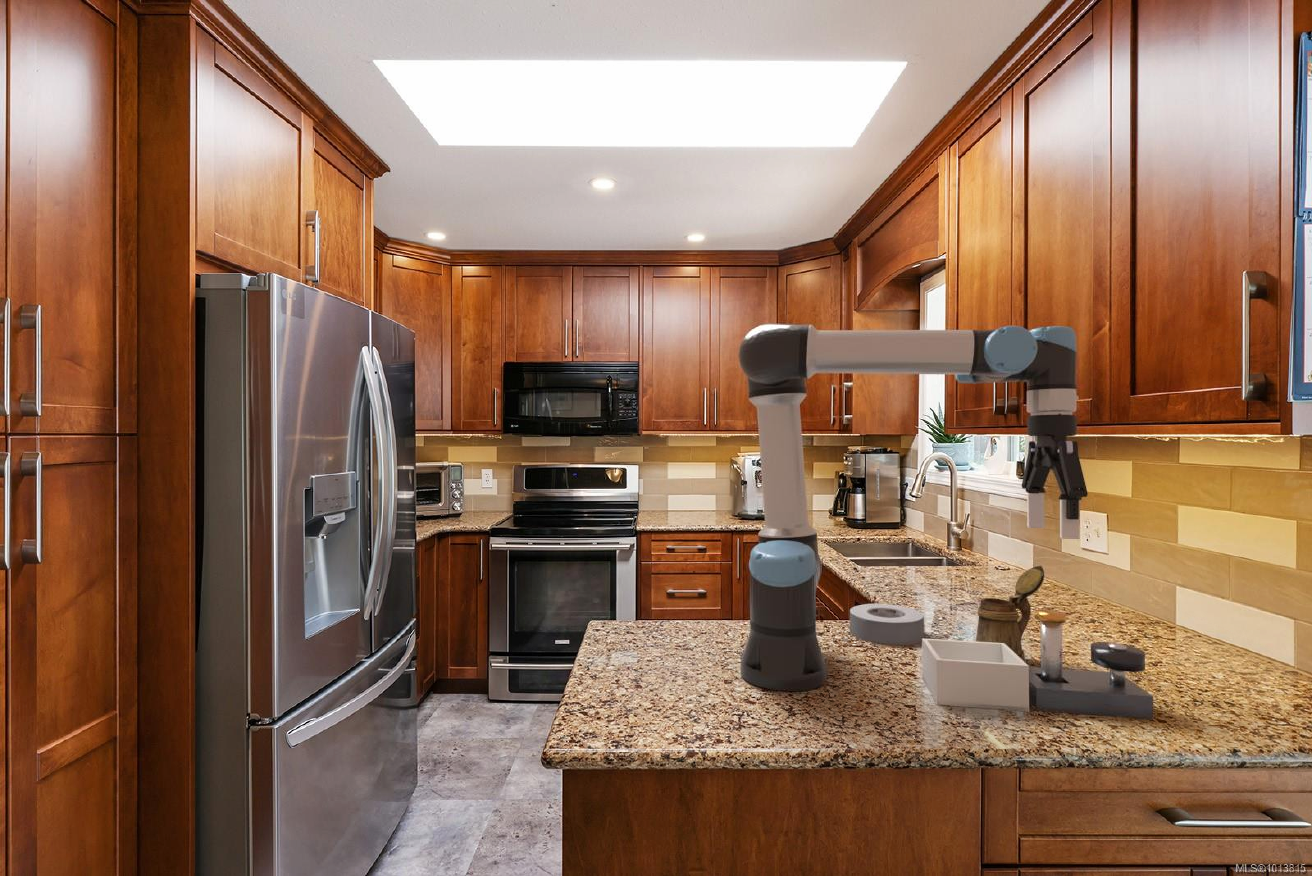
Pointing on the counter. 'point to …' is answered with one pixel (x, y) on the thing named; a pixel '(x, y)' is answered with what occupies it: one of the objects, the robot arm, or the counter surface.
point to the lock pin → (1051, 644)
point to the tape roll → (887, 624)
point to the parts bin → (975, 674)
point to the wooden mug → (1009, 613)
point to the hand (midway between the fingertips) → (1051, 533)
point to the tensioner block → (1096, 686)
